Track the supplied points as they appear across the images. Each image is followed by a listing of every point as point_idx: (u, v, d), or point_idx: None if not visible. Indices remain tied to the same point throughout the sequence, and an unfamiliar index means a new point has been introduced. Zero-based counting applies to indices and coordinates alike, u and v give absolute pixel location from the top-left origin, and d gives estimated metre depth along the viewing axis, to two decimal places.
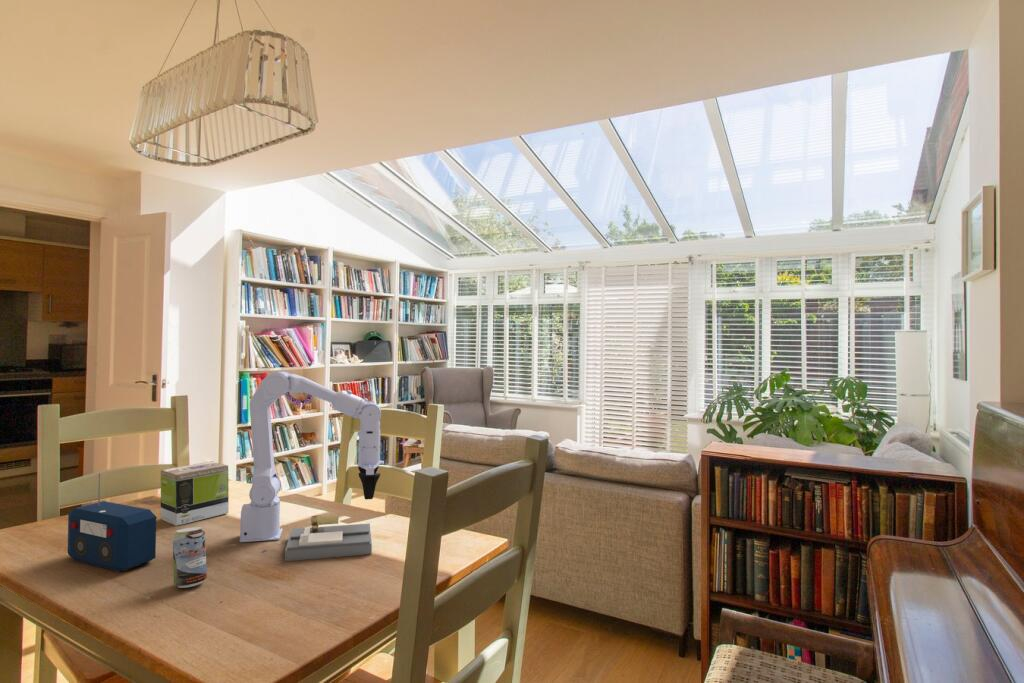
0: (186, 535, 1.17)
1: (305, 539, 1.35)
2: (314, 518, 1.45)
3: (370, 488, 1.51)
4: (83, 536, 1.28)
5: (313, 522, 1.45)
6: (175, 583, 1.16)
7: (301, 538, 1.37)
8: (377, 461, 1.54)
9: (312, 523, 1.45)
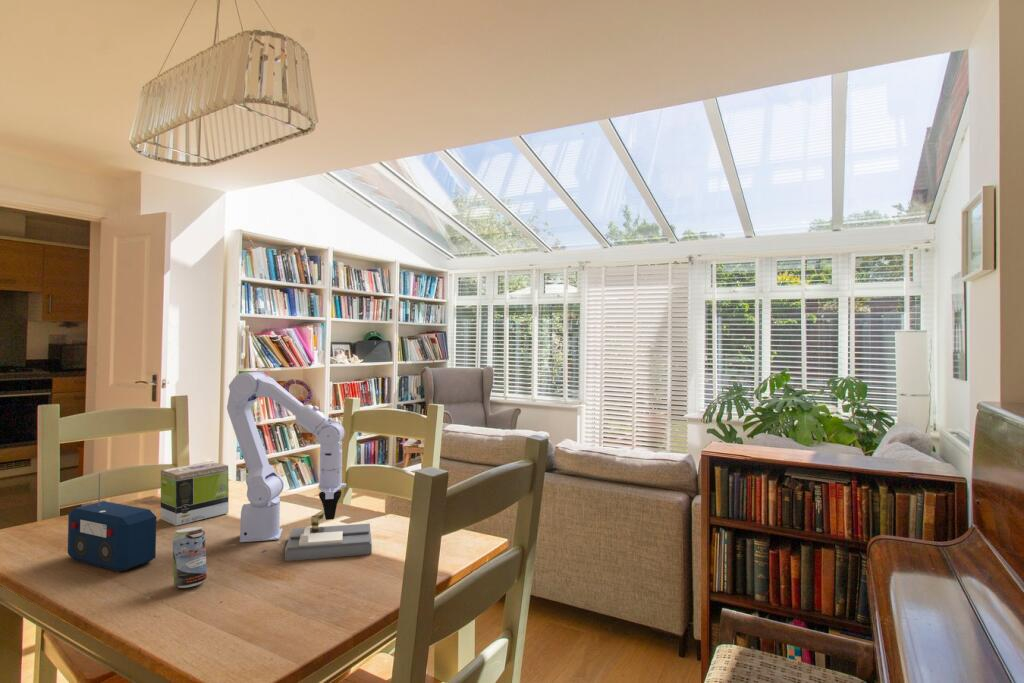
0: (186, 535, 1.17)
1: (305, 539, 1.35)
2: (318, 517, 1.46)
3: (331, 508, 1.49)
4: (83, 536, 1.28)
5: (318, 521, 1.46)
6: (175, 583, 1.16)
7: (301, 538, 1.37)
8: (338, 484, 1.49)
9: (316, 523, 1.46)
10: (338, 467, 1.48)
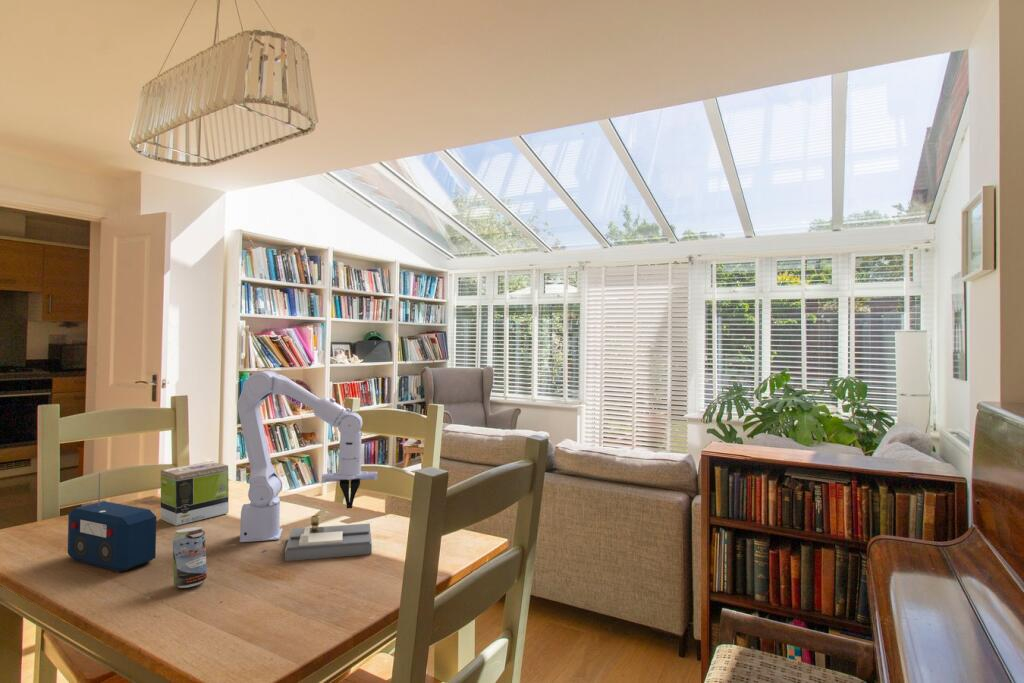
0: (186, 535, 1.17)
1: (305, 539, 1.35)
2: (318, 517, 1.46)
3: None
4: (83, 536, 1.28)
5: (318, 521, 1.46)
6: (175, 583, 1.16)
7: (301, 538, 1.37)
8: (342, 474, 1.50)
9: (317, 523, 1.46)
10: (358, 456, 1.51)
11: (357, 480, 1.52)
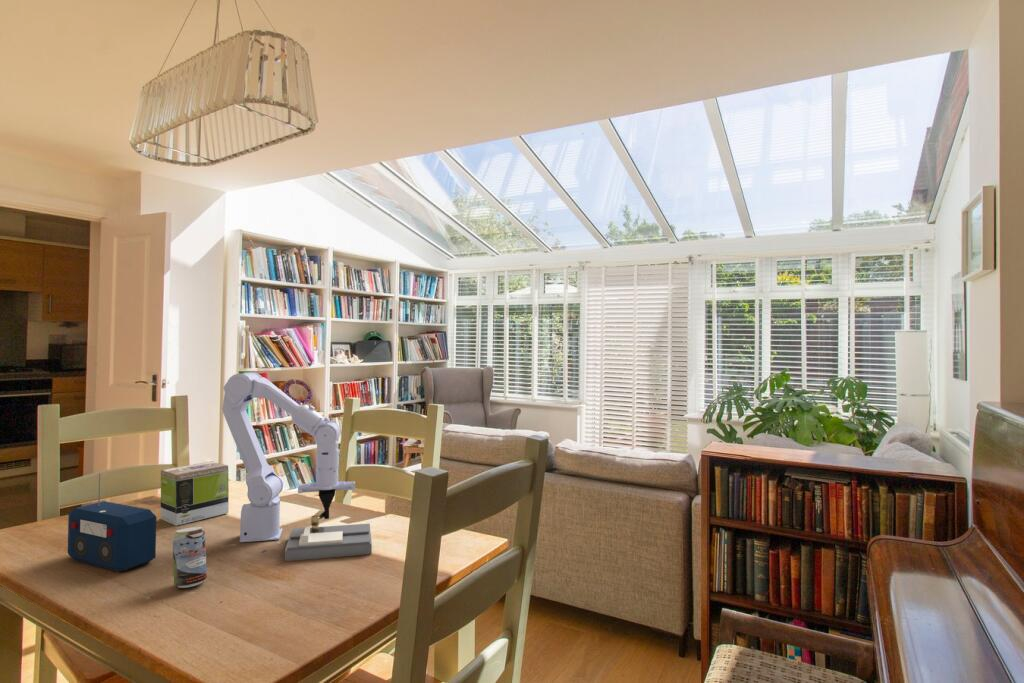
0: (186, 535, 1.17)
1: (305, 539, 1.35)
2: (318, 517, 1.46)
3: None
4: (83, 536, 1.28)
5: (318, 521, 1.46)
6: (175, 583, 1.16)
7: (301, 538, 1.37)
8: (319, 484, 1.48)
9: (317, 523, 1.46)
10: (335, 466, 1.49)
11: (332, 490, 1.50)
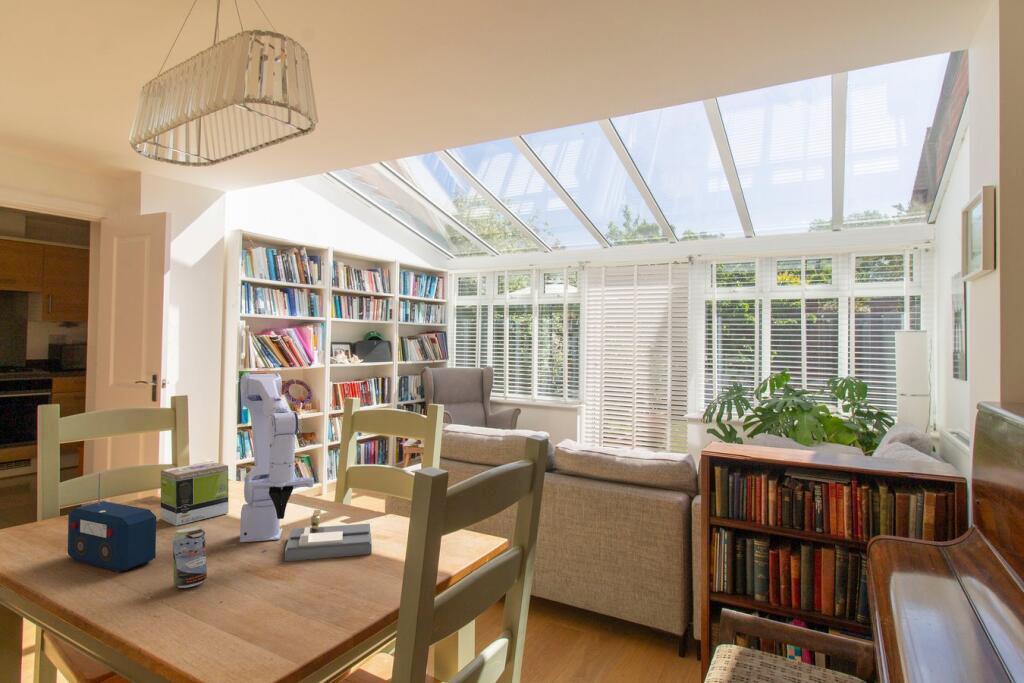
0: (186, 535, 1.17)
1: (305, 539, 1.35)
2: (318, 517, 1.46)
3: None
4: (83, 536, 1.28)
5: (318, 521, 1.46)
6: (175, 583, 1.16)
7: (301, 538, 1.37)
8: (272, 480, 1.34)
9: (318, 523, 1.46)
10: (278, 462, 1.33)
11: (289, 487, 1.36)
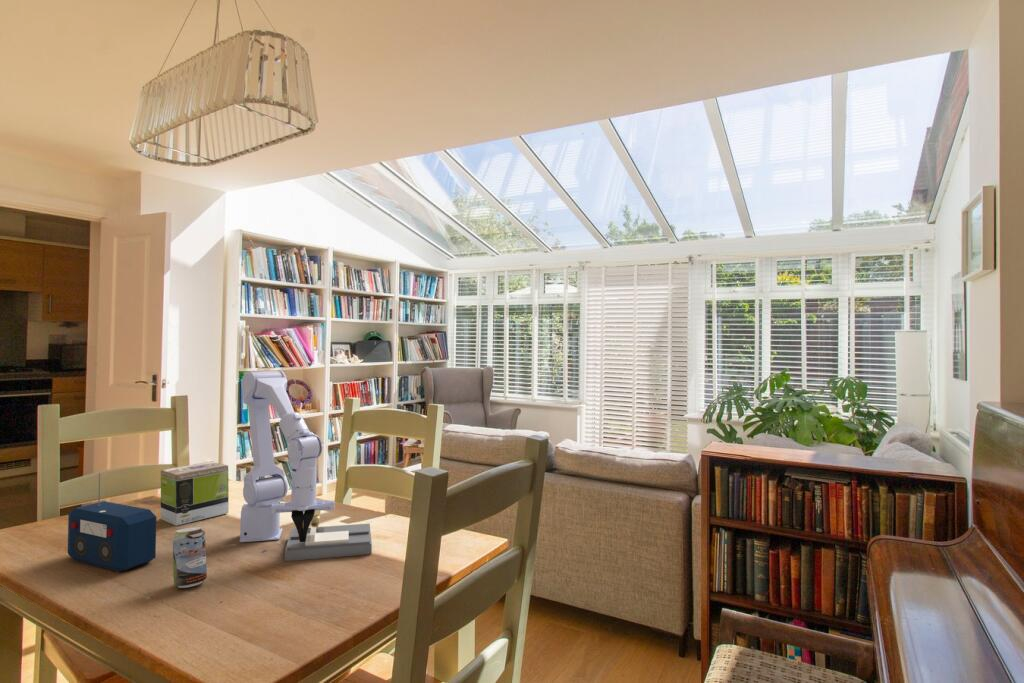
0: (186, 535, 1.17)
1: (311, 539, 1.35)
2: (318, 517, 1.46)
3: None
4: (83, 536, 1.28)
5: (318, 520, 1.46)
6: (175, 583, 1.16)
7: (307, 538, 1.38)
8: (294, 504, 1.35)
9: (318, 522, 1.46)
10: (303, 485, 1.35)
11: (311, 510, 1.37)
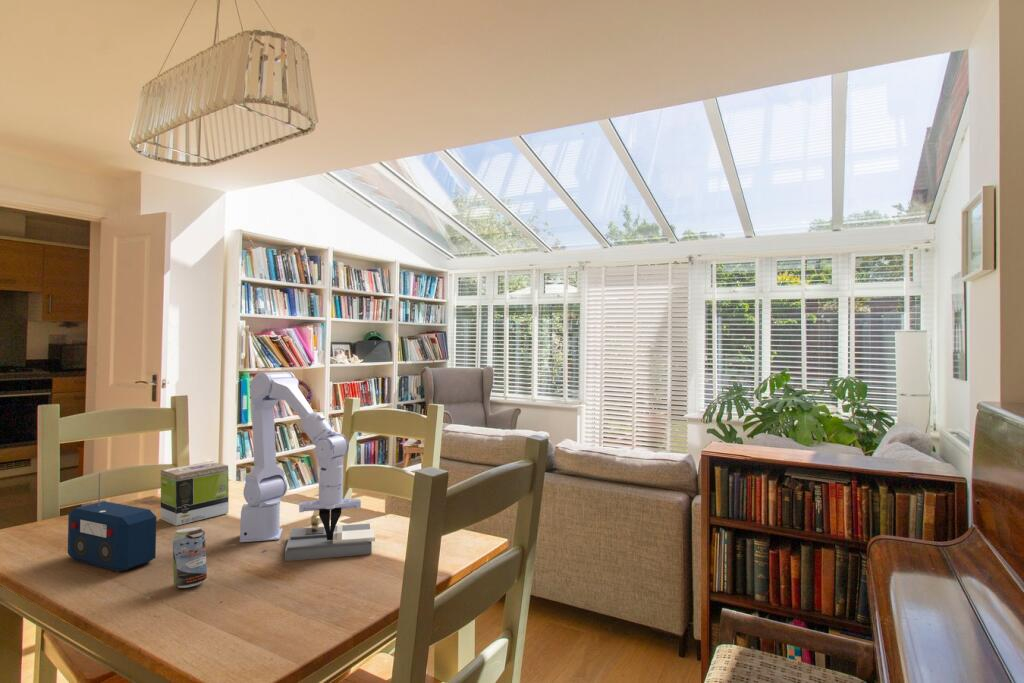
0: (186, 535, 1.17)
1: (339, 537, 1.37)
2: (318, 517, 1.46)
3: None
4: (83, 536, 1.28)
5: (318, 520, 1.46)
6: (175, 583, 1.16)
7: (334, 536, 1.39)
8: (322, 502, 1.37)
9: (318, 522, 1.46)
10: (334, 484, 1.37)
11: (338, 509, 1.39)
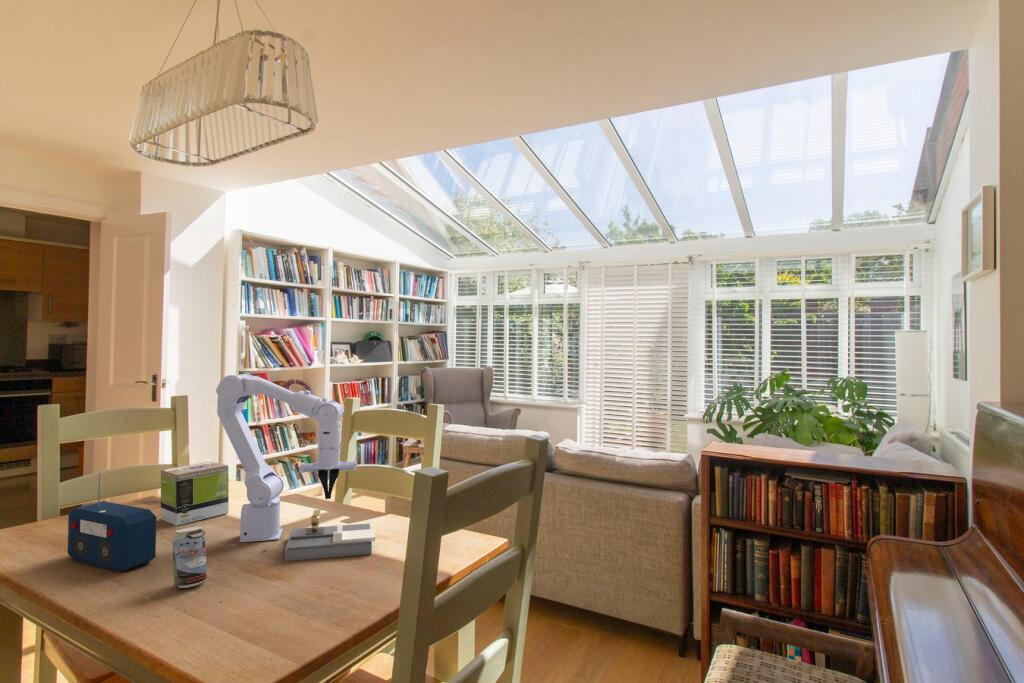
0: (186, 535, 1.17)
1: (339, 537, 1.37)
2: (318, 517, 1.46)
3: None
4: (83, 536, 1.28)
5: (318, 520, 1.46)
6: (175, 583, 1.16)
7: (334, 536, 1.39)
8: (321, 464, 1.47)
9: (318, 522, 1.46)
10: (336, 446, 1.48)
11: (336, 470, 1.49)
